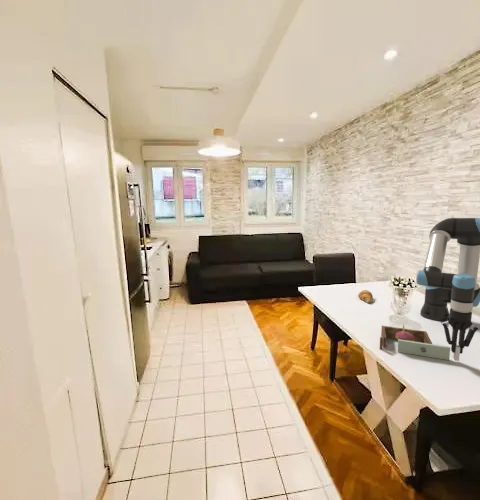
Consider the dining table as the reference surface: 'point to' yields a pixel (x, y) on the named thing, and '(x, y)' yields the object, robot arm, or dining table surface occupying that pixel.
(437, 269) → the robot arm
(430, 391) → the dining table surface
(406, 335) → the cupcake
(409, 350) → the grey flat panel
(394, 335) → the holder
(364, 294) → the croissant
